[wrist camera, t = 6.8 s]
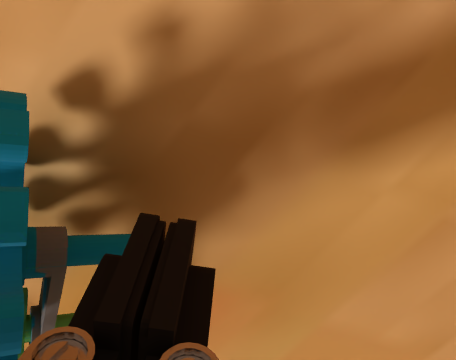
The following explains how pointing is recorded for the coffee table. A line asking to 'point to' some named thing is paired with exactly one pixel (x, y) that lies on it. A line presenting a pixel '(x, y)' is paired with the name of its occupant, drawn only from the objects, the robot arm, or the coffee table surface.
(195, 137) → the coffee table surface
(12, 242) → the gear
